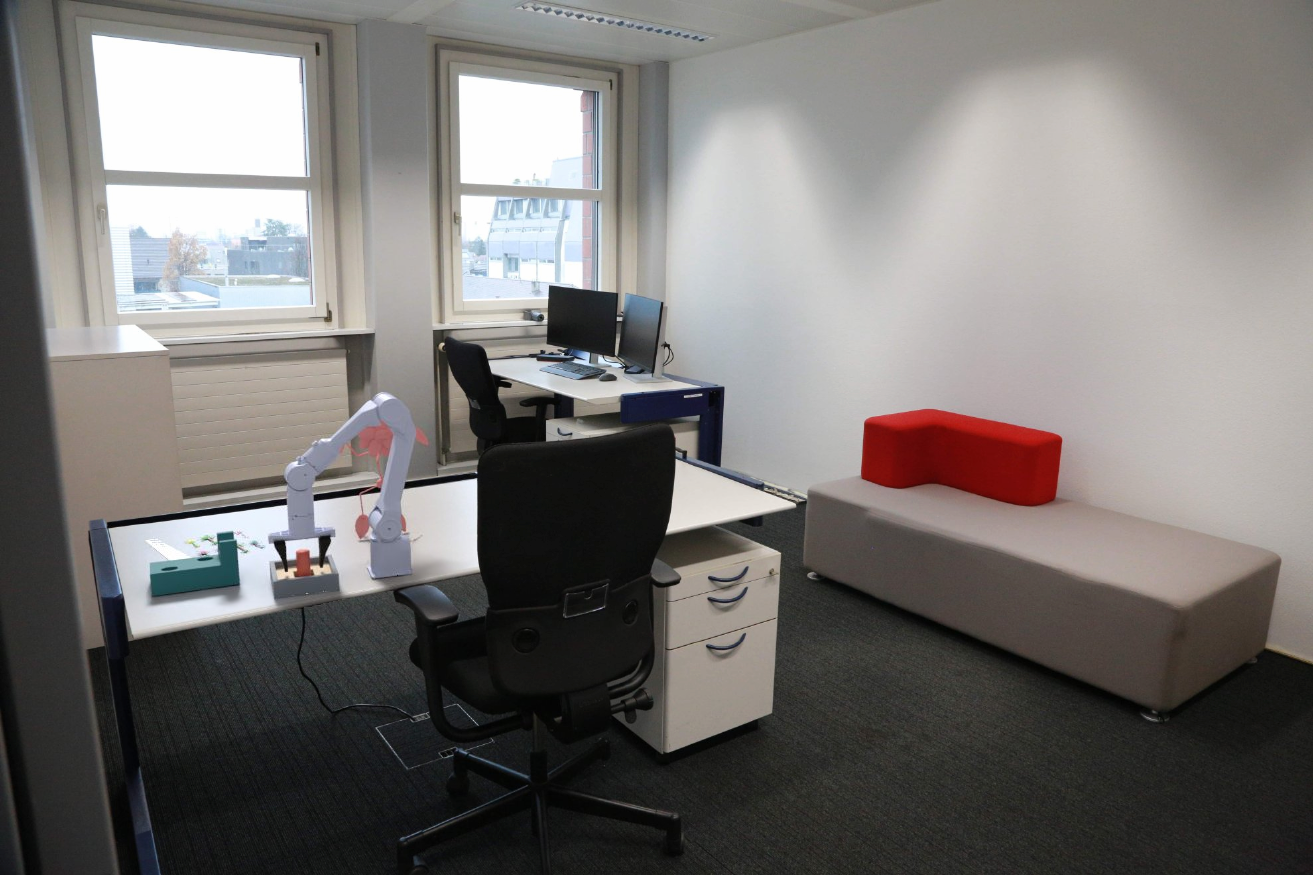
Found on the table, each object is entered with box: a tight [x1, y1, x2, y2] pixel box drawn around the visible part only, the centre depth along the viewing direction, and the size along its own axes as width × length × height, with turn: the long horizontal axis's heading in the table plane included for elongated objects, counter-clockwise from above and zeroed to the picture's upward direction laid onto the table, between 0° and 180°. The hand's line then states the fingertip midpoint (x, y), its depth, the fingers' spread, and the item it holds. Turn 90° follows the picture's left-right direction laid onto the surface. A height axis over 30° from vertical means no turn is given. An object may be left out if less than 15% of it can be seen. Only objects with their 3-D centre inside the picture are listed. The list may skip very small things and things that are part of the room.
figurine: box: [339, 420, 429, 543], centre depth 241 cm, size 15×26×35 cm, turn 123°
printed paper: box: [145, 531, 266, 561], centre depth 236 cm, size 30×30×2 cm
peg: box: [295, 548, 311, 577], centre depth 211 cm, size 3×3×8 cm
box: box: [269, 554, 340, 599], centre depth 211 cm, size 14×14×4 cm
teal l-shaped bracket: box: [149, 530, 241, 597], centre depth 208 cm, size 18×11×10 cm, turn 119°
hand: (303, 568), depth 211 cm, fingers open, 7 cm apart
